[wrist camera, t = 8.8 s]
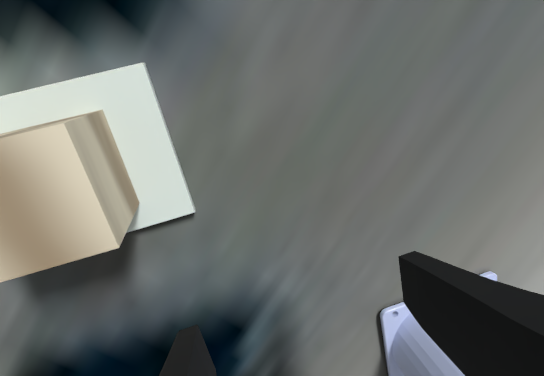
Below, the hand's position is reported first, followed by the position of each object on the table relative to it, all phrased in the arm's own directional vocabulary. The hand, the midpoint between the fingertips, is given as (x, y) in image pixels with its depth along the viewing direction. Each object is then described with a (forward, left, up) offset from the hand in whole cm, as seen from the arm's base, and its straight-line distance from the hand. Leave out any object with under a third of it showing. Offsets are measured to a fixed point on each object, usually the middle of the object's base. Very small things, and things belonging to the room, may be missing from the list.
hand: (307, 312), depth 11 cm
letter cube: (+9, -5, -9) cm, 13 cm away
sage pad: (+9, -5, -9) cm, 14 cm away
